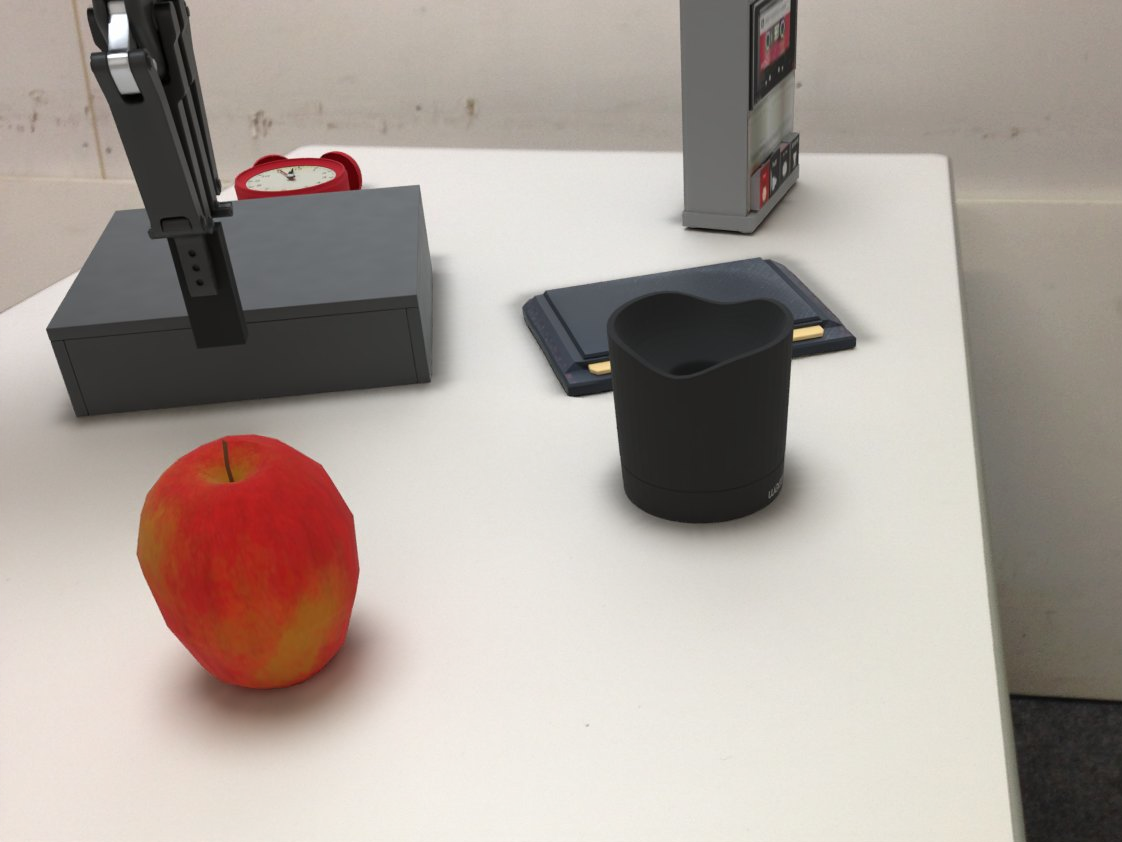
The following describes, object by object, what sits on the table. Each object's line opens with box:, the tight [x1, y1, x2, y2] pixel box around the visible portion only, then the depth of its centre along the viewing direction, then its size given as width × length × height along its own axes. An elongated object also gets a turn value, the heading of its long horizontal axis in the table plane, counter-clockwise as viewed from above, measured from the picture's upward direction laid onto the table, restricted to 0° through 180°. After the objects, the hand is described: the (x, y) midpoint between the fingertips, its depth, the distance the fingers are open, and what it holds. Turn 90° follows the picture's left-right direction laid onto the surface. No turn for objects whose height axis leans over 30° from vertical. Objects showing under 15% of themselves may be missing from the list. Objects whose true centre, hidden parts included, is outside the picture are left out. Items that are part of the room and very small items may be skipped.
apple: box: [135, 433, 361, 690], centre depth 56 cm, size 9×9×12 cm
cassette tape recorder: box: [679, 0, 800, 234], centre depth 100 cm, size 14×6×25 cm, turn 159°
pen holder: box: [607, 291, 794, 525], centre depth 67 cm, size 9×9×10 cm
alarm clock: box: [233, 150, 363, 200], centre depth 108 cm, size 10×6×15 cm
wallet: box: [521, 256, 857, 397], centre depth 87 cm, size 20×2×15 cm
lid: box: [45, 184, 433, 418], centre depth 87 cm, size 22×21×6 cm
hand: (223, 340), depth 73 cm, fingers closed
